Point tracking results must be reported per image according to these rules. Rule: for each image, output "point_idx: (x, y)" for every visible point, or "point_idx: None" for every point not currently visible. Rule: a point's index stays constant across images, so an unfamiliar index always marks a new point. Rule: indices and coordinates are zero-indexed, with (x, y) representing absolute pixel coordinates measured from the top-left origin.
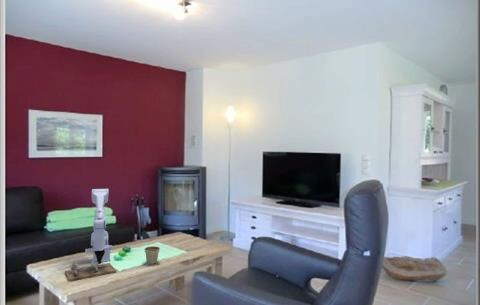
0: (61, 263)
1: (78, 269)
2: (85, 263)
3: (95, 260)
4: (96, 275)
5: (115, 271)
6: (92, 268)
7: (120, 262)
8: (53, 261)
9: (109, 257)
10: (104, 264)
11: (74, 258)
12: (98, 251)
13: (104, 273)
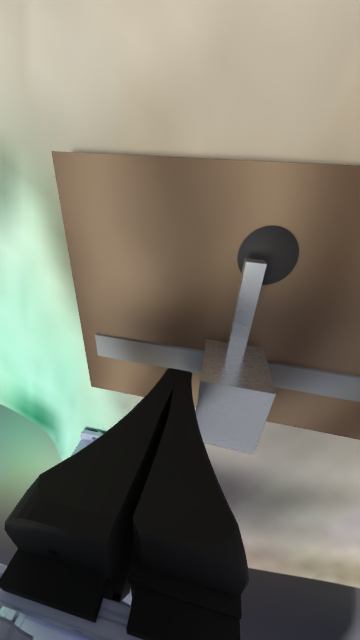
0: (329, 543)
1: (355, 419)
2: (223, 477)
3: (205, 436)
4: (299, 166)
5: (67, 155)
6: (263, 349)
7: (26, 368)
8: (340, 573)
9: (76, 452)
10: (130, 383)
11: None
12: (146, 604)
13: (195, 159)
